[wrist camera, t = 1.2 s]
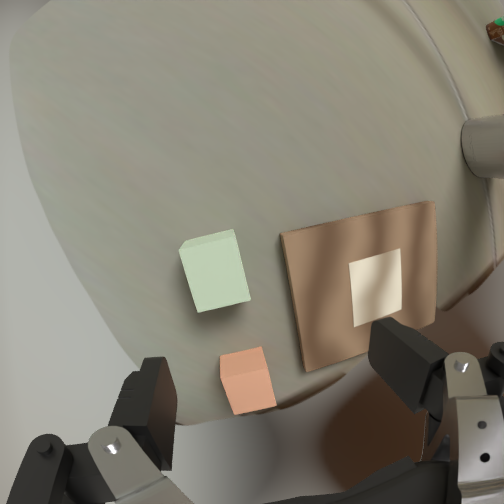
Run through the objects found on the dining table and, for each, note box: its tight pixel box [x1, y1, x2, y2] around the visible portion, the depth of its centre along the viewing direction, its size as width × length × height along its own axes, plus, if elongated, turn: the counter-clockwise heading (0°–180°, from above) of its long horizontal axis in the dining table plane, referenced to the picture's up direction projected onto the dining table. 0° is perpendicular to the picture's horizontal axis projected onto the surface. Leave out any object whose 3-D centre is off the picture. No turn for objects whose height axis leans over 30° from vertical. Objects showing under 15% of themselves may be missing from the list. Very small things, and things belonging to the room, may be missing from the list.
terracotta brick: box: [220, 347, 277, 415], centre depth 30 cm, size 5×6×4 cm
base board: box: [280, 201, 437, 372], centre depth 30 cm, size 20×17×2 cm
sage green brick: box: [179, 229, 251, 313], centre depth 26 cm, size 5×6×4 cm
